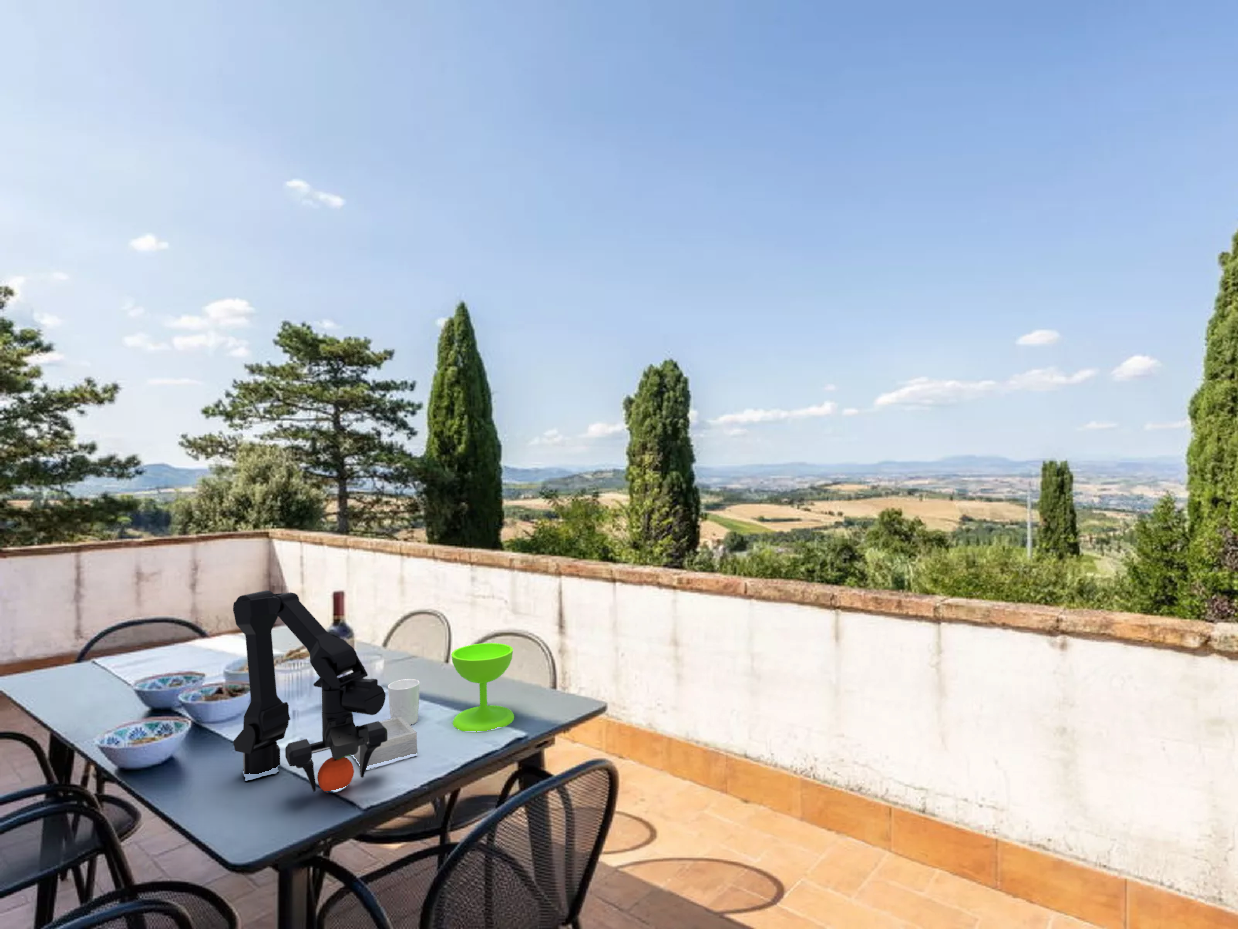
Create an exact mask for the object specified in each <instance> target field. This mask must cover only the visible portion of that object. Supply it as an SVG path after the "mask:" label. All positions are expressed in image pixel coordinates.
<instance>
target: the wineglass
mask: <svg viewBox="0 0 1238 929" xmlns="http://www.w3.org/2000/svg"><path fill="white" fill-rule="evenodd" d="M513 652H514V648H513V647H512V646H511V645H508V644H507V643H506V644H505V643H498V642H485V643H482V642H481V643H474V644H470V645H464V646H461V647H458V648H456V649H454V650H453V651H452V652H451V655H450V657H451V662H452V664H453V668H454V669H455V671H456V673H457V674H459V676H460V677H461V678H463V679H465V680H467V681H468V682H469V683H475V684H478V685H479V686H478V687H479V706H474V707H471V708H467V709H465V710H462V711H461V712H458V714H457V715H455V716H454V718H453V720H452V726H453V728H455V727H456V728H457V729H456V728H455V729H456V730H458V729H459V731H461V732H465V731H476V732H475V733H478V732H477V731H487V730H491V729H495V728H497V727H503V728H505V727H507V726H508V725H510V724H512V722H513V721H514V720H515V714H514V713H513V710H511V709H510V708H508V707H505V706H502V705H501V706H500V705H496V704H495V705H493V704H492V705H491V704H490V705H488V690H487V689H488V683H490V682H492V681H493V682H494V681H496V680H497V679H499V677H501V676H503V675H504V674H505V672H506V671H507V669H508V668H509V667H510V665H511V661H512V659H513ZM487 732H488V731H487Z"/></svg>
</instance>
